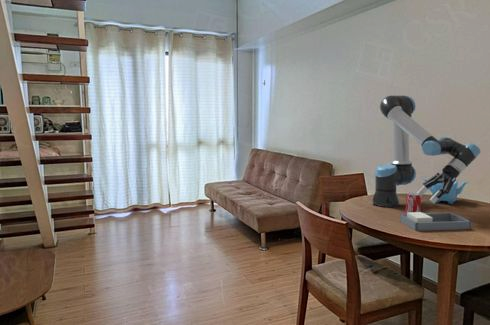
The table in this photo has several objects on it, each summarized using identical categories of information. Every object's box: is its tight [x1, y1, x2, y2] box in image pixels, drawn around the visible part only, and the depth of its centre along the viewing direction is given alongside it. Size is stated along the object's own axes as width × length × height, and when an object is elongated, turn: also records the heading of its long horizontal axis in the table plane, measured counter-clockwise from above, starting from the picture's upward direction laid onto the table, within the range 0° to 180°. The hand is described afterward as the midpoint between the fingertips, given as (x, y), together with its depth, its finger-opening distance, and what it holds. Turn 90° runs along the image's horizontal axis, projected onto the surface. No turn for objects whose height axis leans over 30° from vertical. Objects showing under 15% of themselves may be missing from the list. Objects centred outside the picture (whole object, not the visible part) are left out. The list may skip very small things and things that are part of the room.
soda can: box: [405, 192, 422, 214], centre depth 185 cm, size 7×7×12 cm
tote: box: [399, 212, 472, 232], centre depth 166 cm, size 25×16×4 cm, turn 91°
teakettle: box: [422, 178, 470, 205], centre depth 215 cm, size 19×19×15 cm
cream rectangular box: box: [407, 212, 433, 223], centre depth 166 cm, size 7×10×5 cm
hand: (424, 199), depth 183 cm, fingers open, 13 cm apart
